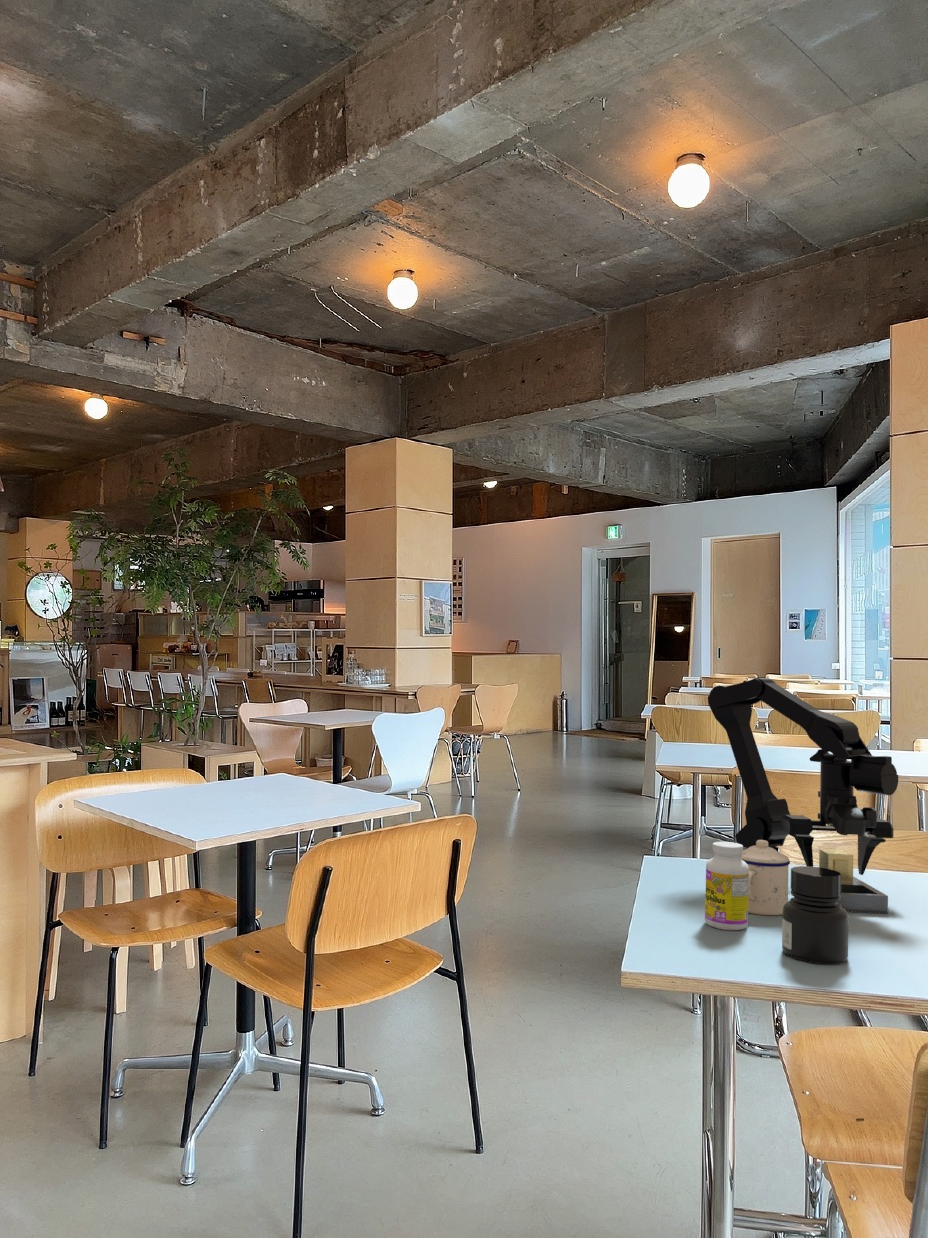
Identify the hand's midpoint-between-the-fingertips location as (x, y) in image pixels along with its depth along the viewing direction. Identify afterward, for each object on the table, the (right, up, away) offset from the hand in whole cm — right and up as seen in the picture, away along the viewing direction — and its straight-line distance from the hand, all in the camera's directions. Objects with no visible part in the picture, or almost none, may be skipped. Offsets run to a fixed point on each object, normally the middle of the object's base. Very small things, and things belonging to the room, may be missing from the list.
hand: (835, 873), depth 168 cm
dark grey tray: (0, -4, -4) cm, 6 cm away
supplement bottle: (-27, -2, -22) cm, 35 cm away
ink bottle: (-18, -2, -37) cm, 41 cm away
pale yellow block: (0, -1, 0) cm, 1 cm away
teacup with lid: (-18, -3, -13) cm, 23 cm away
